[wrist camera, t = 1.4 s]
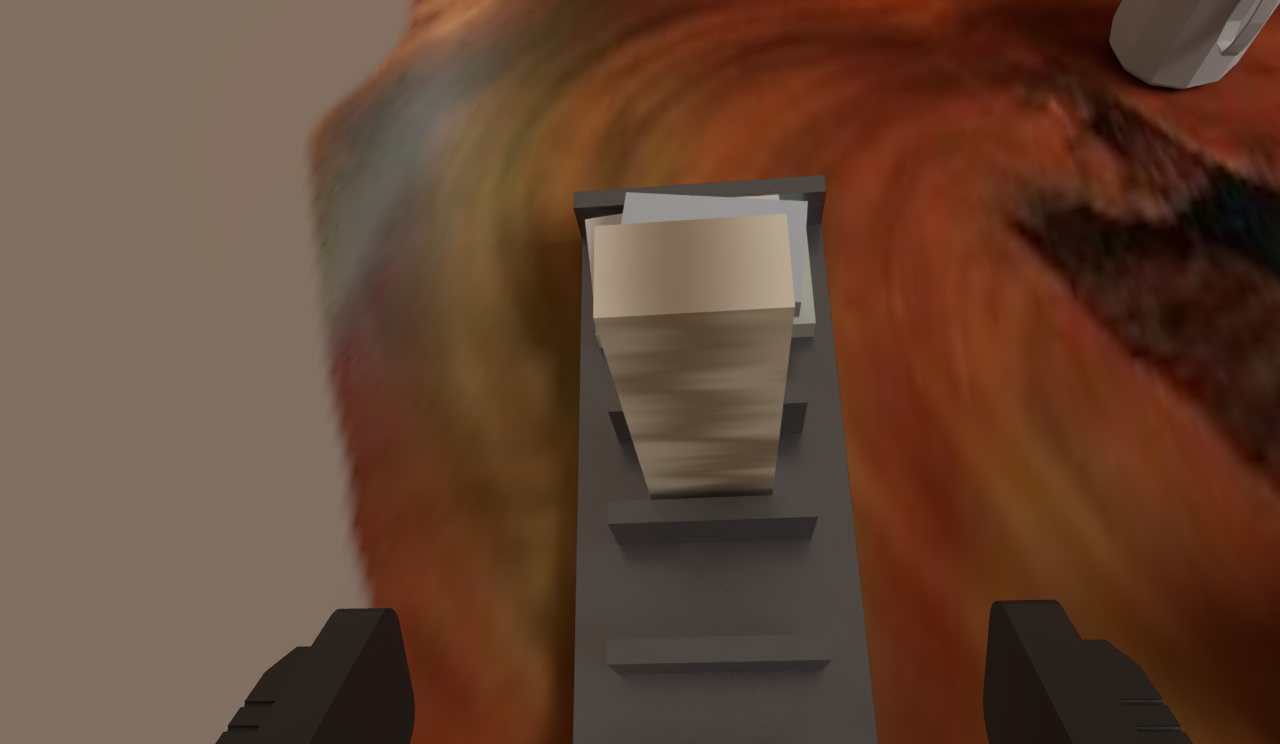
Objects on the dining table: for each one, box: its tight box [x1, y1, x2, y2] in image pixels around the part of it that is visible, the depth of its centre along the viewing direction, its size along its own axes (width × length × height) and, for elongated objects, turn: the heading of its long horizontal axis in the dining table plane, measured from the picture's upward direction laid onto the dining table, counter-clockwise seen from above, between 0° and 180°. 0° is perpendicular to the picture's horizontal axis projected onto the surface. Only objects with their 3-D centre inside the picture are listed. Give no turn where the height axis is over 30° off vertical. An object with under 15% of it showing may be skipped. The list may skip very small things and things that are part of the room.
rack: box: [573, 175, 878, 744], centre depth 42 cm, size 13×31×6 cm, turn 1°
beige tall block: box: [593, 214, 795, 500], centre depth 34 cm, size 6×3×20 cm, turn 91°
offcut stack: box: [585, 190, 816, 348], centre depth 46 cm, size 11×7×4 cm, turn 91°
